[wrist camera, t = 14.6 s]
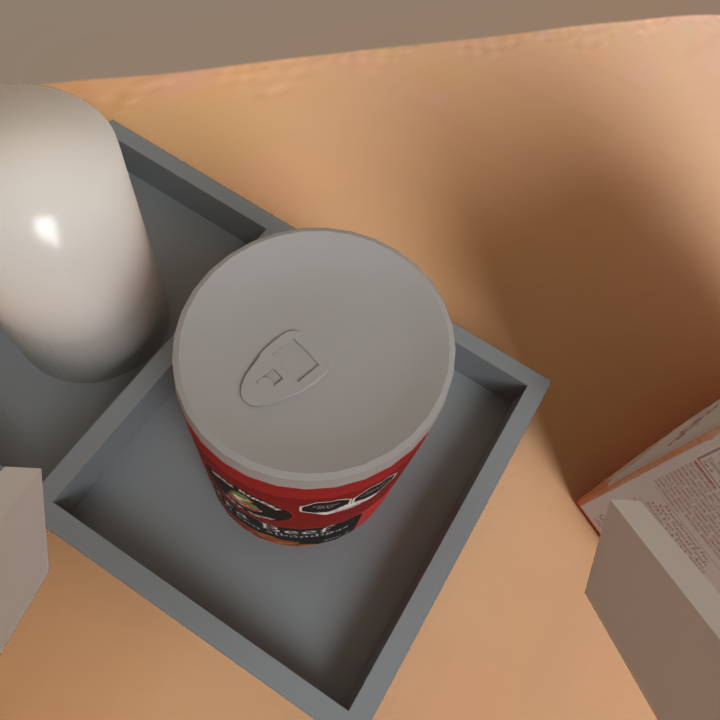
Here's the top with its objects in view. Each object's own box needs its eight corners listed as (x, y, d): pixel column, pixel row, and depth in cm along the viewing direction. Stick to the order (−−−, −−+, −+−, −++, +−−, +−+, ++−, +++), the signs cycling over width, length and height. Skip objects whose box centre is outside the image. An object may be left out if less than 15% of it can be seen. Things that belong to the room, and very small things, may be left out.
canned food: (172, 487, 26) (105, 384, 16) (281, 341, 30) (281, 181, 20) (332, 589, 25) (365, 546, 15) (426, 427, 29) (503, 304, 19)
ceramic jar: (-19, 331, 28) (-160, 177, 19) (87, 231, 31) (7, 54, 22) (100, 411, 27) (12, 289, 18) (198, 301, 30) (163, 147, 21)
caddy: (-131, 397, 27) (-176, 368, 24) (125, 162, 34) (112, 119, 31) (347, 738, 24) (356, 748, 21) (527, 405, 30) (551, 381, 28)
